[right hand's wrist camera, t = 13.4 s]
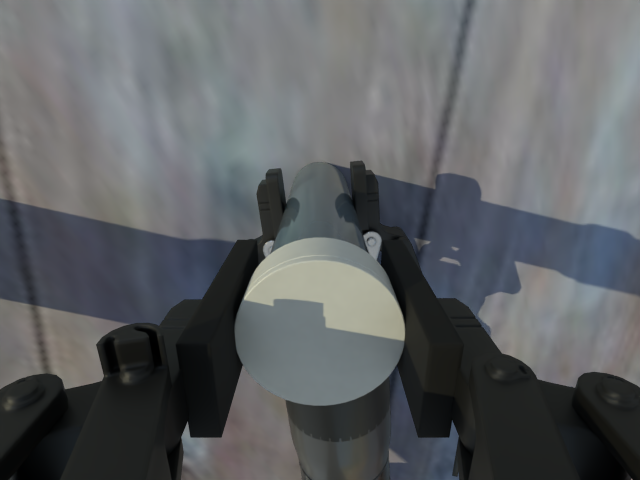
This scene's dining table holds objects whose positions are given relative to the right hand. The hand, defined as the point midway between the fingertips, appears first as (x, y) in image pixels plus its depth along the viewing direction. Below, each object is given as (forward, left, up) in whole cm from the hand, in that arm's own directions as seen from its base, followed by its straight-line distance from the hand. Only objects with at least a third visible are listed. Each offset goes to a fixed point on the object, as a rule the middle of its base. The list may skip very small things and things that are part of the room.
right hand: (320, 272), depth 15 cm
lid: (0, 0, +4) cm, 4 cm away
